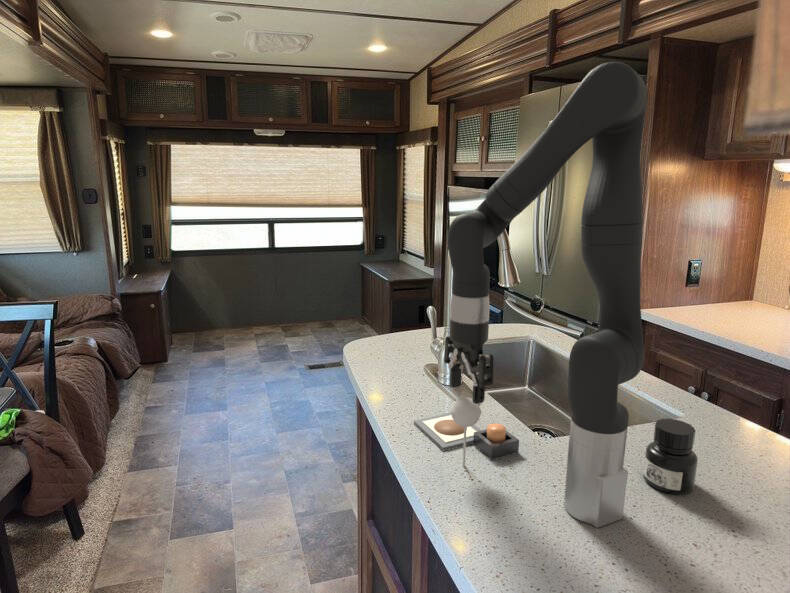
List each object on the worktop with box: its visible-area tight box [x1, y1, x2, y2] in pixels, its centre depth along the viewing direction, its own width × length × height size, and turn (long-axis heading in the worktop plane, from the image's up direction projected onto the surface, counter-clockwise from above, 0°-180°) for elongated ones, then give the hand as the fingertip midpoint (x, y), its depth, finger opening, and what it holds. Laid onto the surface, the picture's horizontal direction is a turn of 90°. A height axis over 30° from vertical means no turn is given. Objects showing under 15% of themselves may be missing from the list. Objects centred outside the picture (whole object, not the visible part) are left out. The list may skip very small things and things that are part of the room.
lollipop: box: [449, 396, 482, 467], centre depth 109 cm, size 6×6×15 cm
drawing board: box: [413, 412, 482, 452], centre depth 125 cm, size 14×12×1 cm
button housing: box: [472, 428, 520, 461], centre depth 117 cm, size 7×7×3 cm
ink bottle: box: [642, 418, 699, 495], centre depth 103 cm, size 10×9×12 cm
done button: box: [486, 423, 507, 444], centre depth 116 cm, size 4×4×3 cm
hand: (466, 394), depth 107 cm, fingers open, 8 cm apart
